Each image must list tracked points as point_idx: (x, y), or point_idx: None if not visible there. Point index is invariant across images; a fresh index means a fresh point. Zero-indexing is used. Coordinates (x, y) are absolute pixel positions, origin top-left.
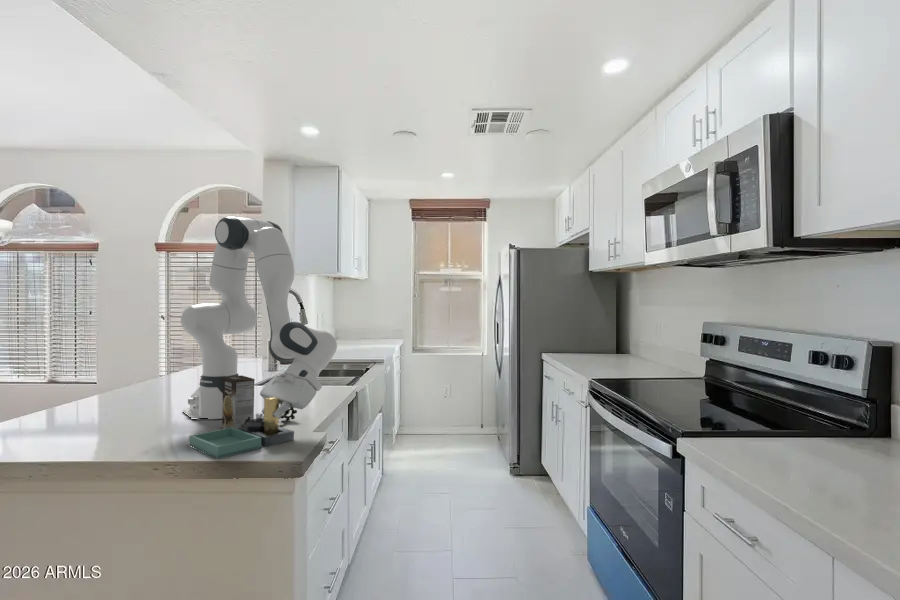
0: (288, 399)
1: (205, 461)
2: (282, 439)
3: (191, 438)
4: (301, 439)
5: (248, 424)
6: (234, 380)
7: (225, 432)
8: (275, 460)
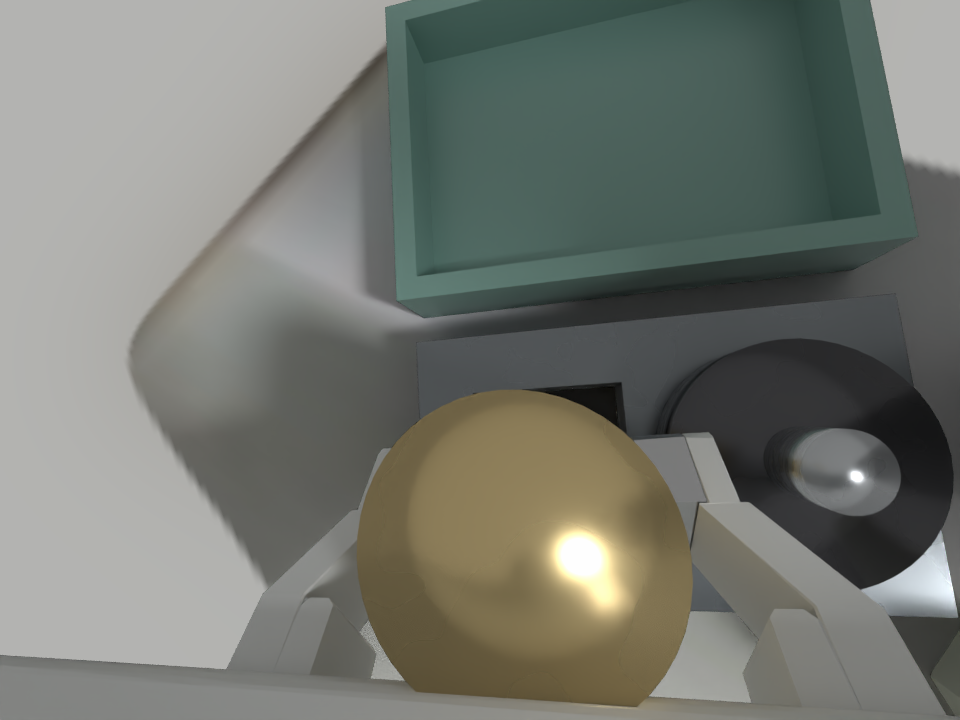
0: (88, 696)
1: None
2: None
3: None
4: None
5: (788, 341)
6: None
7: (852, 181)
8: (192, 284)
